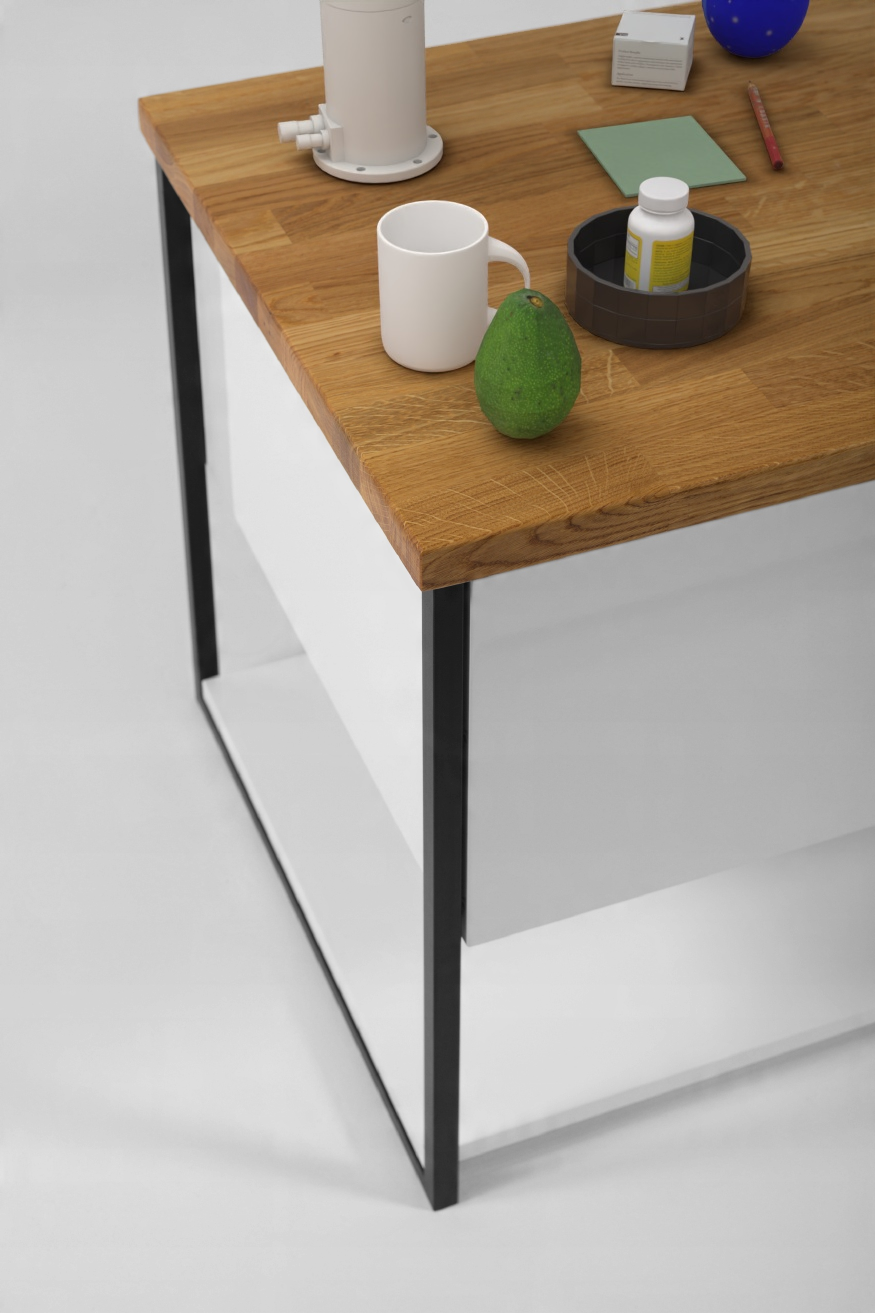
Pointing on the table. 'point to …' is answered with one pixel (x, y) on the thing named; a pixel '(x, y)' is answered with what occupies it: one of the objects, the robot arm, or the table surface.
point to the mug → (437, 283)
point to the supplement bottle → (659, 237)
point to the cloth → (660, 154)
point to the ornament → (754, 24)
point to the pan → (656, 314)
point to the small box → (653, 50)
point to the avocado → (527, 367)
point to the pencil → (765, 126)
